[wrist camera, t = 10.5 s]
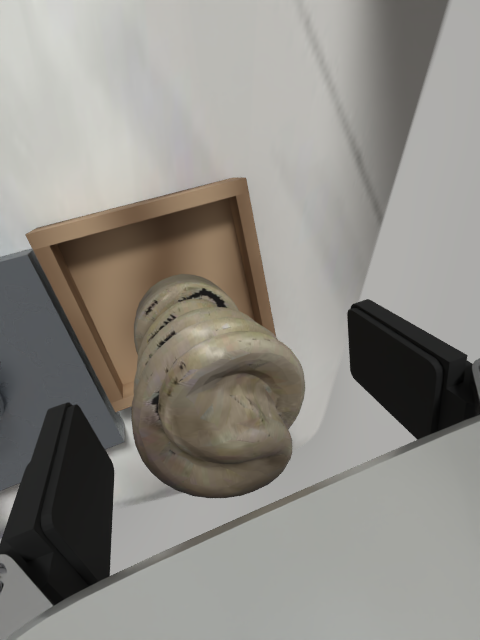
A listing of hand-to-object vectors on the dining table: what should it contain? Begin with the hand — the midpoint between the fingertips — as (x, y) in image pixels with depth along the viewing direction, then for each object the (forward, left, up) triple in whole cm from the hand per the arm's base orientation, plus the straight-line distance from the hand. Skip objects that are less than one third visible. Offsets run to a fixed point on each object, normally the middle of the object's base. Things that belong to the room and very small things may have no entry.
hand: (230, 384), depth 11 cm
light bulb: (0, +1, -12) cm, 12 cm away
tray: (+1, +1, -13) cm, 13 cm away
